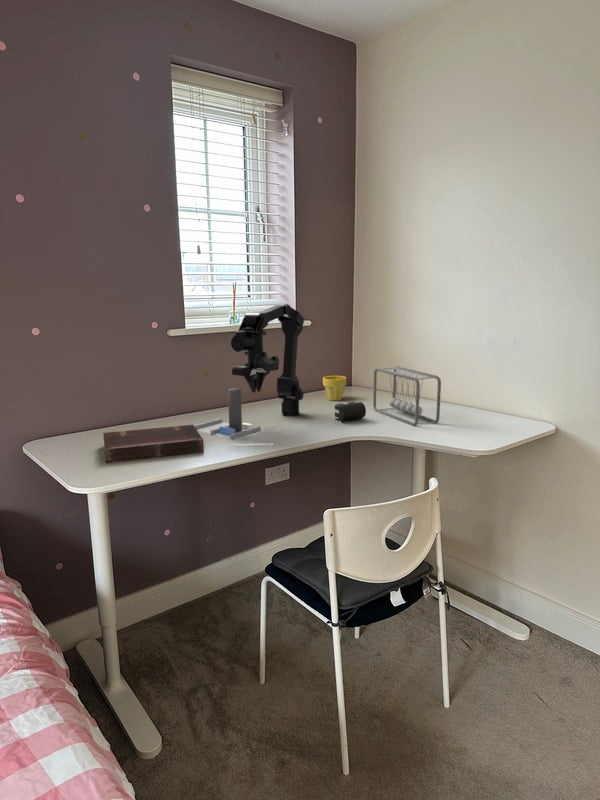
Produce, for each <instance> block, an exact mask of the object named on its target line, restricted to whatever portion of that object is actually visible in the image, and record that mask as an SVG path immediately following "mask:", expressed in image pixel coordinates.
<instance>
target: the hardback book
mask: <svg viewBox="0 0 600 800" xmlns="http://www.w3.org/2000/svg"><path fill="white" fill-rule="evenodd" d="M194 425H195V424H184V425H183V424H182V425H175V426H162V427H153V428H152V427H151V428H142V429H130V430H122V431H121V430H120V431H111V432H103V433H102V434H103V445H104V446H103V447H104V456H105V464H113V463H120V462H121V463H122V462H130V461H140V460H147V459H156V458H157V459H159V458H166V457H174V456H175V457H176V456H184V455H192V454H193V455H194V454H202V453H205V447H204V446H205V445H204V443H205V442H204V439H203V437H202V436H201V434H200V432H199V431H197V430H196V428H195V427H194Z"/></svg>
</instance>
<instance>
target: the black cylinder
mask: <svg viewBox="0 0 600 800" xmlns="http://www.w3.org/2000/svg"><path fill="white" fill-rule="evenodd" d="M334 410H336V411H338V412H334V417H335V419H334V421H336V420H338V421H337V422H339V421H341V422H340V423H345V421H347V422H353V421H358V420H359V419H360V420H362V419H363V418H365V416H366V415H367V409H366V405H365V404H364V403H363V402H361V401H358V402H355V401H351V402H347V403H345V404H344V403H336V404H335V405H334ZM352 420H353V421H352Z"/></svg>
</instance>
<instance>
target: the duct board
mask: <svg viewBox="0 0 600 800" xmlns="http://www.w3.org/2000/svg"><path fill="white" fill-rule="evenodd" d="M193 425H194V427H195V428H196V430H197V431H198V432H199V433H204V434H210V435H213V436H216V437H217V436H218V437H222V438H227V439H231V440H235V441H238V440H241V439H244V438H248V437H251V436H254V435H257V434H261V433H263V432H265V430H262V428H261V427H262V426H261V425H257V426H253V428H250V429H245V428H242V431H240V432H237V433H235V429H232V428H229V422H224V420H223V418H222V417H220V418H216V419H213V420H209V421H206V422H202V423H198V424H197V423H196V424H193Z"/></svg>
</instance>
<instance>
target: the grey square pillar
mask: <svg viewBox="0 0 600 800" xmlns="http://www.w3.org/2000/svg"><path fill="white" fill-rule="evenodd" d="M227 397H228V401H227V403H228V404H227V406H228V423H229V428H232V429H235V433H237V432H240V431H242V423H243V419H242V418H243V417H242V413H243V412H242V390H241V388H236V387H235V388H228V390H227Z"/></svg>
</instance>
